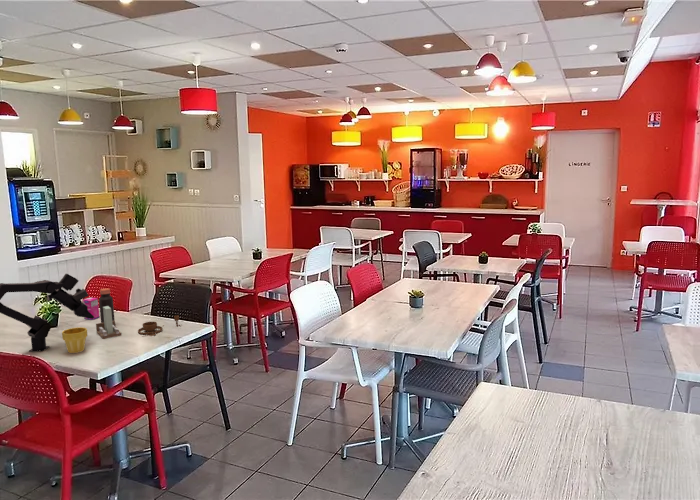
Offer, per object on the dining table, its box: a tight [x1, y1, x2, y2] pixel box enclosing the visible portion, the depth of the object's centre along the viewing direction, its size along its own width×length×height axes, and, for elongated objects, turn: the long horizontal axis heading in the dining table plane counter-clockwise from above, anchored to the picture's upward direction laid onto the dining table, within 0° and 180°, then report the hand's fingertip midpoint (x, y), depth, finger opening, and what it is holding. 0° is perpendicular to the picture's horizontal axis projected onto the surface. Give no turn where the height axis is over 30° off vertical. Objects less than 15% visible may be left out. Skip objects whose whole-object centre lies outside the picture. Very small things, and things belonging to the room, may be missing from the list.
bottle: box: [98, 287, 116, 323], centre depth 280 cm, size 7×7×20 cm
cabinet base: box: [95, 320, 123, 340], centre depth 266 cm, size 12×9×5 cm
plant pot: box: [61, 326, 88, 354], centre depth 241 cm, size 10×10×10 cm
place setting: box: [137, 314, 180, 337], centre depth 271 cm, size 18×20×6 cm
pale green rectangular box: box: [103, 306, 113, 334], centre depth 264 cm, size 6×2×13 cm, turn 39°
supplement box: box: [82, 297, 100, 321], centre depth 295 cm, size 6×6×12 cm
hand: (91, 316), depth 259 cm, fingers open, 9 cm apart
